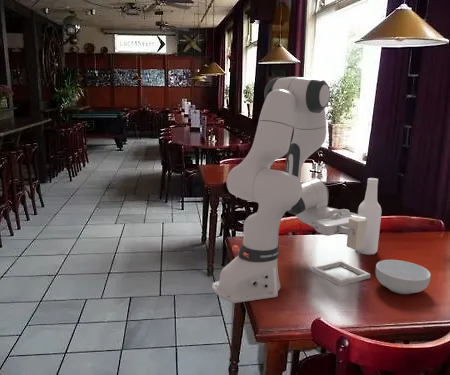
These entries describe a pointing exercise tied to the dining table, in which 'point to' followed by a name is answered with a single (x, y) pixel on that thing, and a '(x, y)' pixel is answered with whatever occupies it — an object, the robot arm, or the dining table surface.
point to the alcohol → (371, 218)
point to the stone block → (356, 233)
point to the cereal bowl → (402, 276)
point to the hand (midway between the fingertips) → (358, 231)
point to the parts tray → (319, 271)
